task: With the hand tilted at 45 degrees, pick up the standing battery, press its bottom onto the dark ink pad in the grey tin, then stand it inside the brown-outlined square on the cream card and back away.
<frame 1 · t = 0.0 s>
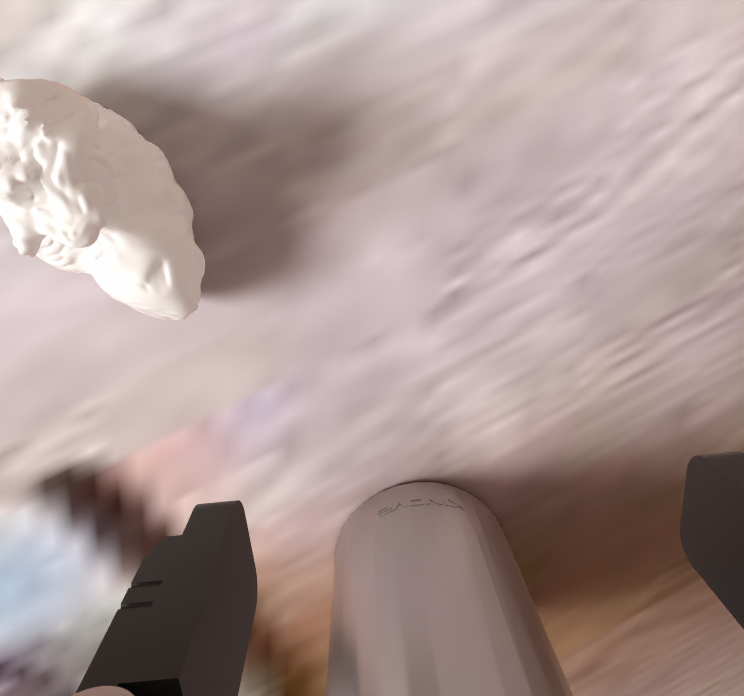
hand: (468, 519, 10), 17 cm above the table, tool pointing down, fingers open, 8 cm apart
bust: (121, 193, 25), on the table
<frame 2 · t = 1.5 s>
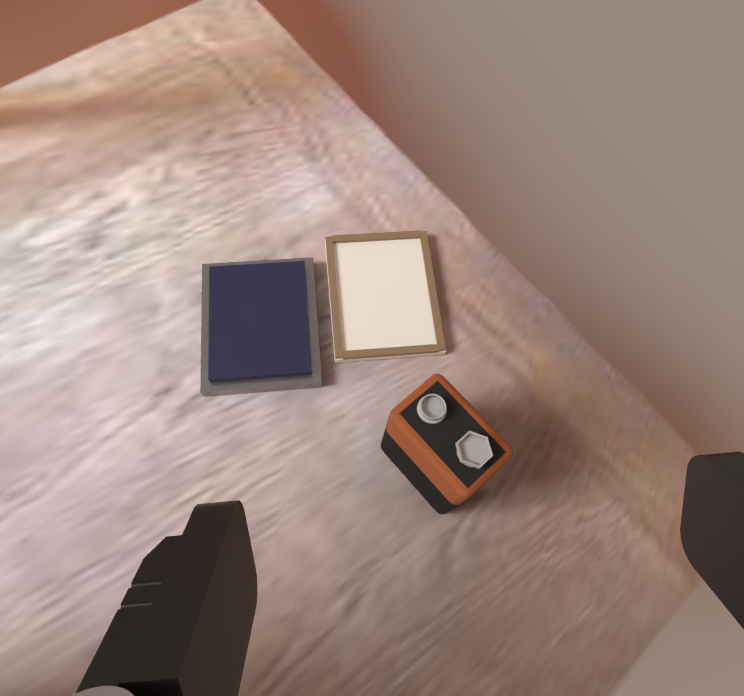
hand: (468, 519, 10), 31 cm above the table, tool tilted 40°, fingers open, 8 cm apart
ink pad: (261, 326, 45), on the table
marked card: (382, 296, 47), on the table
battery: (429, 462, 42), on the table
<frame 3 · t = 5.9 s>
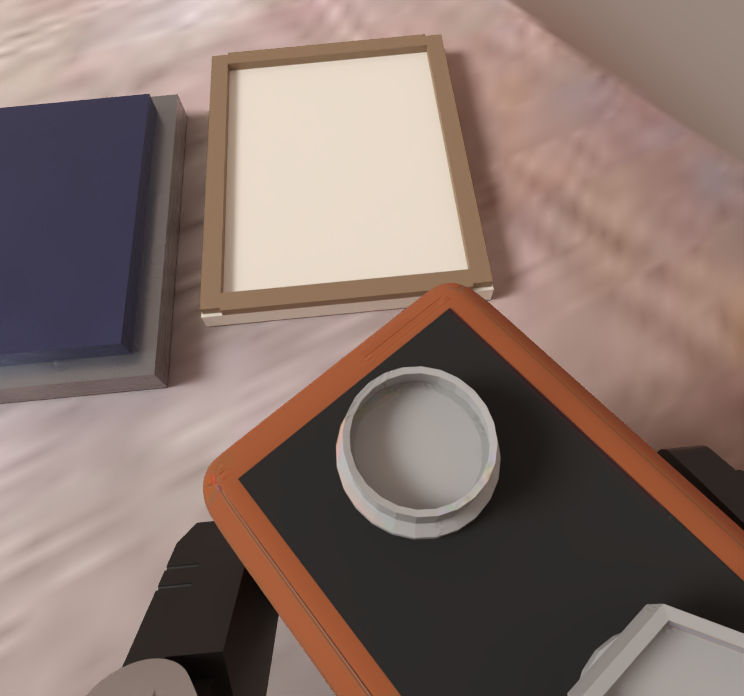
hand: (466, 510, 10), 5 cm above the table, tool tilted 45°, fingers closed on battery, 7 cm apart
ink pad: (44, 247, 19), on the table
marked card: (337, 173, 20), on the table
battery: (453, 603, 14), on the table, touching gripper
when the fingers open (6 cm above the table, at t = 16.2 s): battery stays where it is, resting on marked card.
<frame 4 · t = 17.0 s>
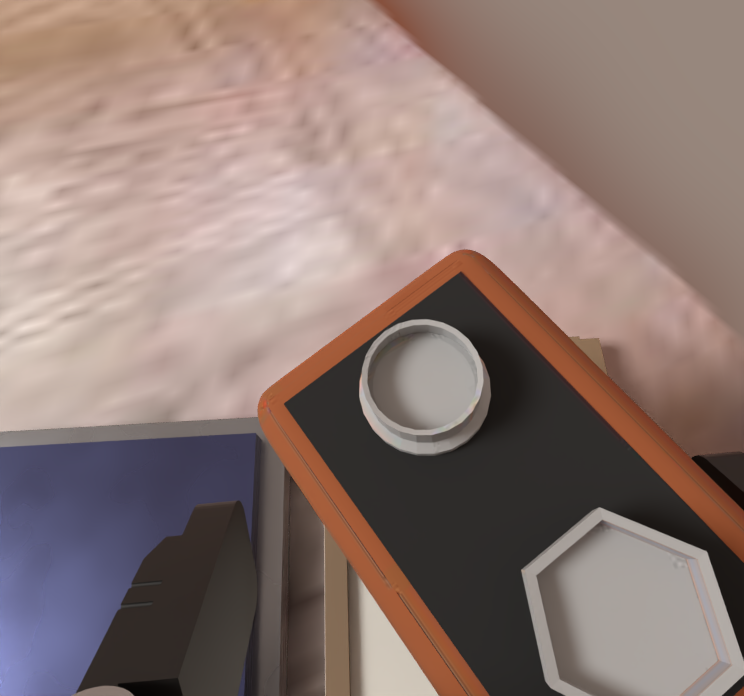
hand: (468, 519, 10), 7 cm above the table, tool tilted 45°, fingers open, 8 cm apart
ink pad: (127, 624, 16), on the table
marked card: (478, 531, 16), on the table
battery: (481, 535, 16), point 1 cm above the table, touching gripper, marked card
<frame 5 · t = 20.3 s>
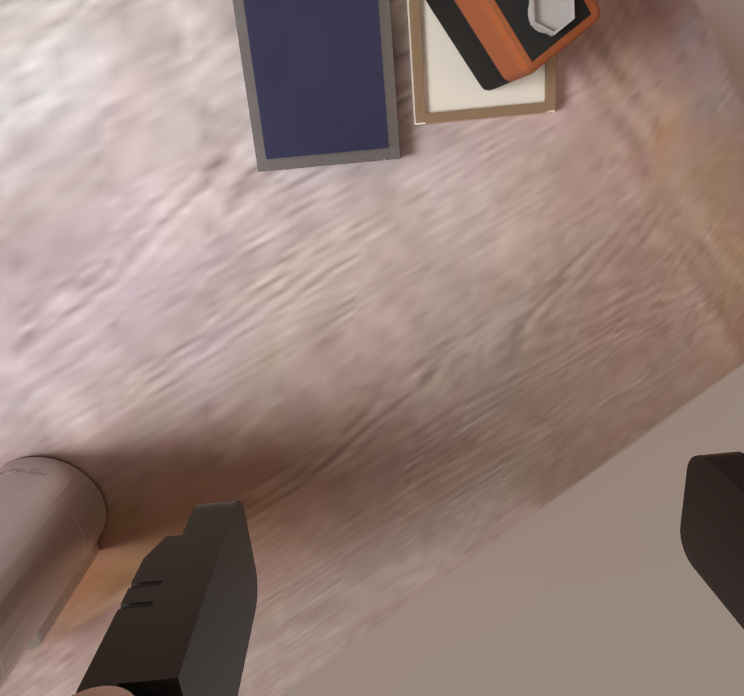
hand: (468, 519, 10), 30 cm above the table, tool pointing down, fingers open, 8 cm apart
ink pad: (319, 71, 35), on the table
marked card: (480, 19, 34), on the table
battery: (482, 22, 34), resting on marked card
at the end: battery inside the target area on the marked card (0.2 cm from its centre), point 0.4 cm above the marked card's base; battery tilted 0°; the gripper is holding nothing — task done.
